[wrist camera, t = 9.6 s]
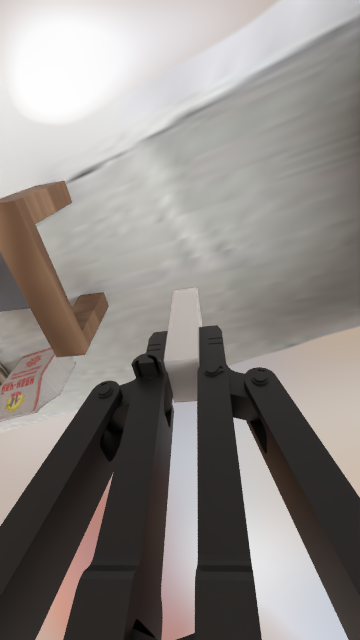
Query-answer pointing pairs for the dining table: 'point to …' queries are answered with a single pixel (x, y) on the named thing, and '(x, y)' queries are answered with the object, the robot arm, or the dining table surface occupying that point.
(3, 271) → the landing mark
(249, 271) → the dining table surface
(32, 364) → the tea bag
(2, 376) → the washcloth
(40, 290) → the bridge
